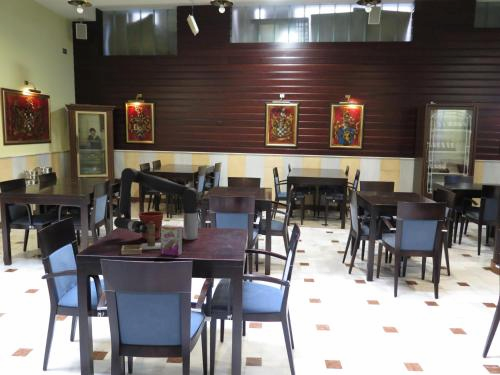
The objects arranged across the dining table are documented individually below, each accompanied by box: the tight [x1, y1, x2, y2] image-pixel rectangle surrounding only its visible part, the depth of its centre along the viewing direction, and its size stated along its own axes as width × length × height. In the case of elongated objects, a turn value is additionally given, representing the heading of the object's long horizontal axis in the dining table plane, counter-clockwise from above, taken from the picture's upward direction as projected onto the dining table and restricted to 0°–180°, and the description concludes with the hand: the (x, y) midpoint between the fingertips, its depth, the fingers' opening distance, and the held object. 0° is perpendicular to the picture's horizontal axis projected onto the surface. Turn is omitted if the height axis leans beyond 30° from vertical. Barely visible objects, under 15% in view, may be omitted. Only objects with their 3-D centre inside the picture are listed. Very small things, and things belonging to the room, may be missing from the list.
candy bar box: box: [160, 224, 183, 257], centre depth 239 cm, size 11×5×16 cm, turn 74°
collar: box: [120, 244, 143, 256], centre depth 244 cm, size 11×11×2 cm
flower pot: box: [137, 211, 165, 240], centre depth 277 cm, size 16×16×16 cm
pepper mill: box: [146, 221, 156, 247], centre depth 255 cm, size 5×5×15 cm
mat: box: [140, 242, 161, 250], centre depth 256 cm, size 12×12×1 cm
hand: (151, 230), depth 254 cm, fingers open, 8 cm apart
